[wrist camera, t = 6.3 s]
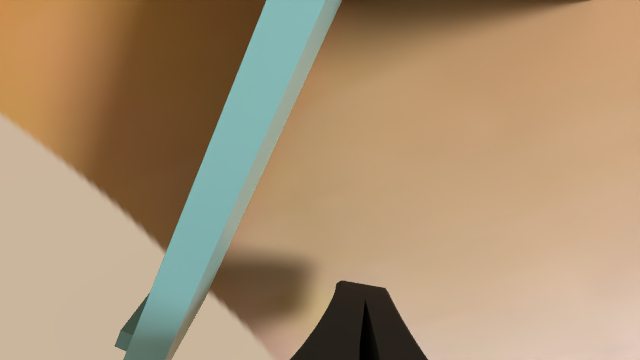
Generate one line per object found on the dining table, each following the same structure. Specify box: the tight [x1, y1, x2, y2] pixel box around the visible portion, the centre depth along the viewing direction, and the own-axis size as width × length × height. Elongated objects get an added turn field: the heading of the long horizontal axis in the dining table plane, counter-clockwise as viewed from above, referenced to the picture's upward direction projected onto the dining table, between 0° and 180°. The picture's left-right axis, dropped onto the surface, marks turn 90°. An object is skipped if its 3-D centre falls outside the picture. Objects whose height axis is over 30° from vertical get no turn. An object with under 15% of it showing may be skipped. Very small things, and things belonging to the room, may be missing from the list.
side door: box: [115, 0, 342, 360], centre depth 10 cm, size 12×1×4 cm, turn 154°
